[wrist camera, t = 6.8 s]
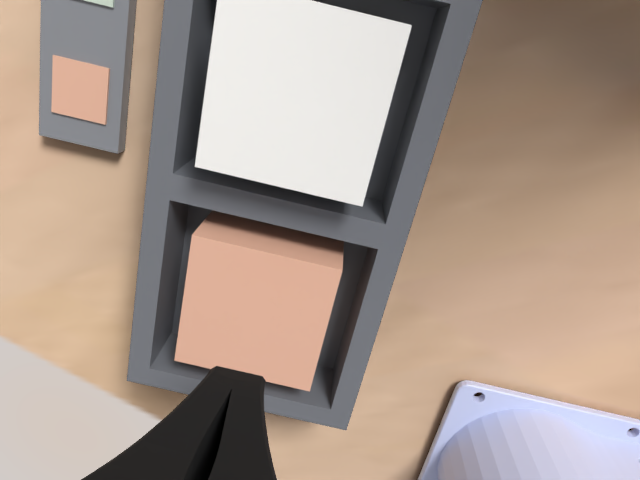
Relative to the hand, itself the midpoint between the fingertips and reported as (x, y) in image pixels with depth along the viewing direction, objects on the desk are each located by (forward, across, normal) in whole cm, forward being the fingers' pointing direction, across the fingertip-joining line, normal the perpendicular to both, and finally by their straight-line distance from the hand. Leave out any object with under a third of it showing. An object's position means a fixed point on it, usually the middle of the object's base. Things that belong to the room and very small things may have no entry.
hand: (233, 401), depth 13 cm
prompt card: (+8, +8, -7) cm, 14 cm away
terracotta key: (+7, 0, 0) cm, 7 cm away
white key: (+7, 0, -7) cm, 10 cm away
